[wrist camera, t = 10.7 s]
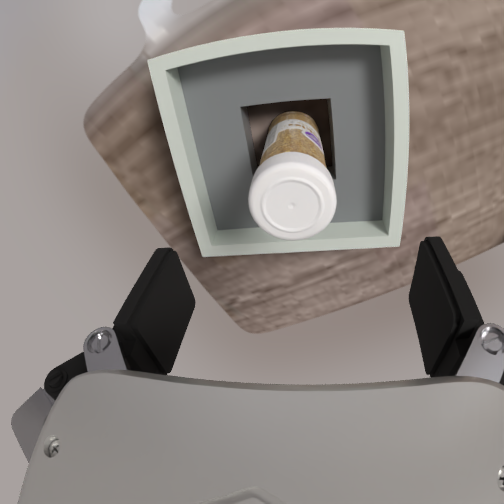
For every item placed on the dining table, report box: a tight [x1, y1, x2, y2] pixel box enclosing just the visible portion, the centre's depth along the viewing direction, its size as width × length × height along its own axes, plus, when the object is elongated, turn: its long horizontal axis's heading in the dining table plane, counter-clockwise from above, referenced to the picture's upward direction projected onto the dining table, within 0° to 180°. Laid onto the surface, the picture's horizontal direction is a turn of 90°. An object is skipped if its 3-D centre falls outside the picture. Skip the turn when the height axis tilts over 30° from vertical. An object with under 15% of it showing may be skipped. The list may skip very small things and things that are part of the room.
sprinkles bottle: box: [248, 111, 337, 240], centre depth 20 cm, size 5×5×14 cm
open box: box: [147, 28, 409, 257], centre depth 23 cm, size 18×18×6 cm
